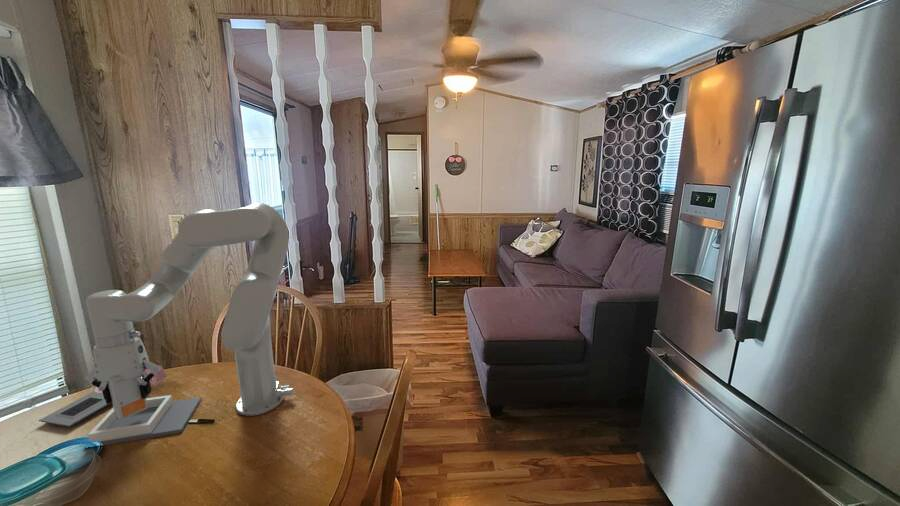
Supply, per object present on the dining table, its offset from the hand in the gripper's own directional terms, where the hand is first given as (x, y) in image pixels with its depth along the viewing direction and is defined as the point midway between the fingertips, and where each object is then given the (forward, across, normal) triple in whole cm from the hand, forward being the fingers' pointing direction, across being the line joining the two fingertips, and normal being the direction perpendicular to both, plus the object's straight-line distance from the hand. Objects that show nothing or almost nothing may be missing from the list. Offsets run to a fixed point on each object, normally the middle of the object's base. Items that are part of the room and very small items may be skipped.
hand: (129, 397), depth 96 cm
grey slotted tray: (+9, +17, -10) cm, 22 cm away
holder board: (+8, -3, 0) cm, 9 cm away
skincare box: (+4, 0, 0) cm, 4 cm away
